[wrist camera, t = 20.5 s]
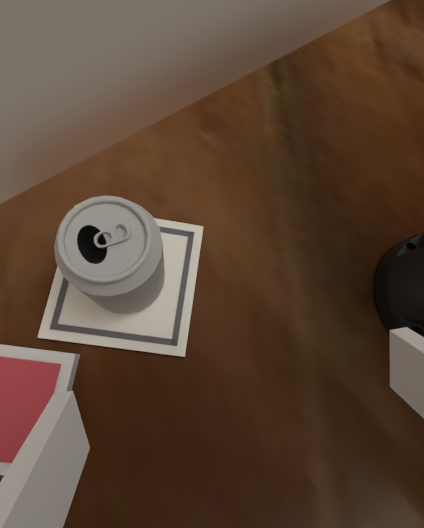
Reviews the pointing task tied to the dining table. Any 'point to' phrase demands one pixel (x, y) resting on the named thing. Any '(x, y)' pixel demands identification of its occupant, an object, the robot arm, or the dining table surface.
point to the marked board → (140, 323)
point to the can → (112, 253)
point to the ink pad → (28, 392)
